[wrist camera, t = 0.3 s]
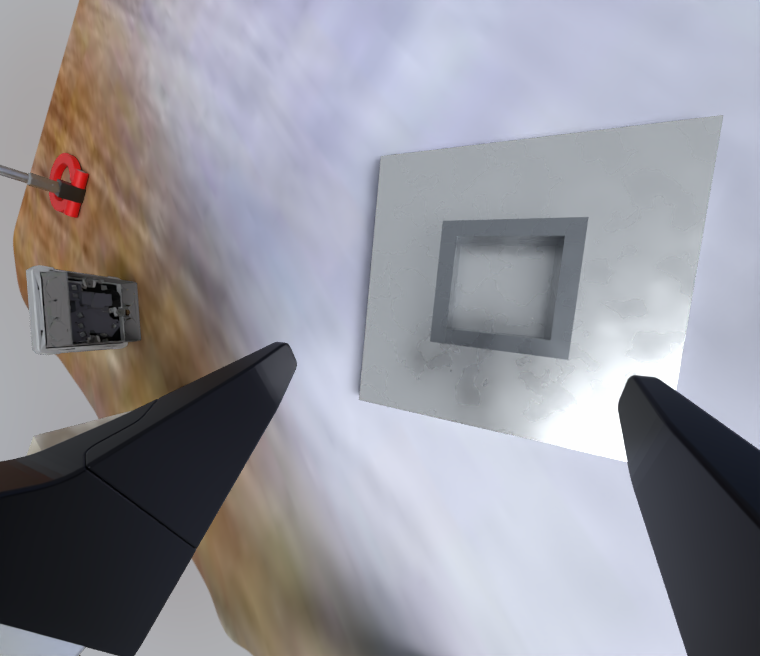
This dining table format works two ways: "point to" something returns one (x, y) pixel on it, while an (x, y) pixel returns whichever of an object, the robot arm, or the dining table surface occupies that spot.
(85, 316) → the electrical switch
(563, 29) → the dining table surface
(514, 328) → the socket plate
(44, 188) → the tow hook
